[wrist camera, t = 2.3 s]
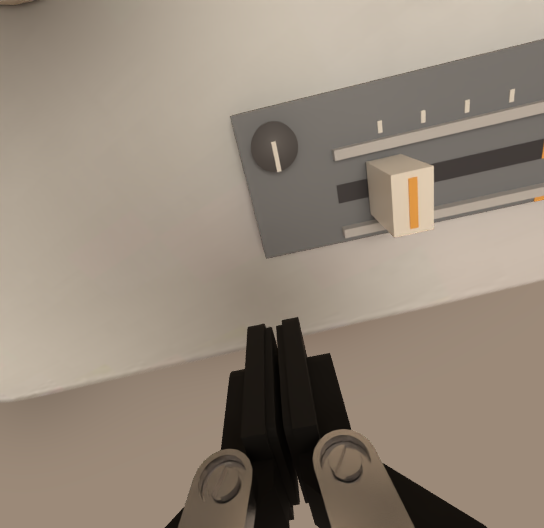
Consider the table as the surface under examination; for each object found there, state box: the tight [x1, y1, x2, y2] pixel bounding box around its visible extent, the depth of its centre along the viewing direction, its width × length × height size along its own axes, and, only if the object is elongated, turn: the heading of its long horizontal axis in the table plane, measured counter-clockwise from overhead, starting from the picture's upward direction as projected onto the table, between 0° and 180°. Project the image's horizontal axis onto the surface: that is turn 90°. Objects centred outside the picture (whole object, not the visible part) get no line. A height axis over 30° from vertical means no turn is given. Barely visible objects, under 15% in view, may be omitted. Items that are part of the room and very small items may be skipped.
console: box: [230, 39, 544, 259], centre depth 24 cm, size 11×32×4 cm, turn 102°
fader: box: [366, 154, 434, 238], centre depth 22 cm, size 4×2×5 cm, turn 12°
